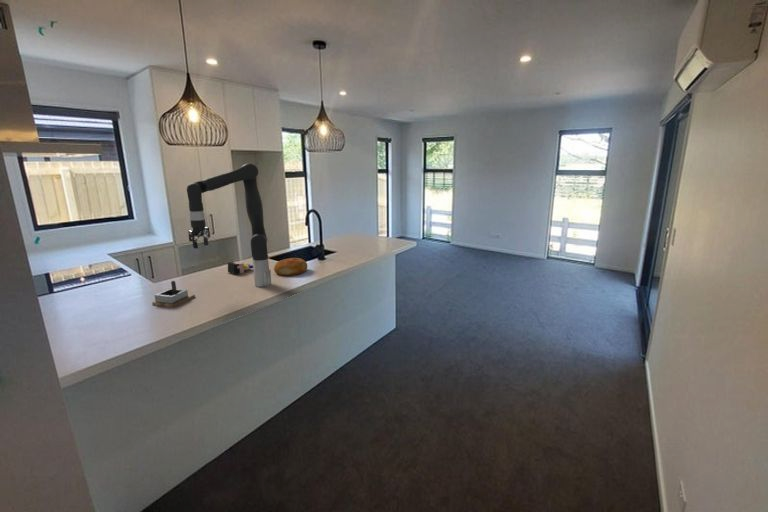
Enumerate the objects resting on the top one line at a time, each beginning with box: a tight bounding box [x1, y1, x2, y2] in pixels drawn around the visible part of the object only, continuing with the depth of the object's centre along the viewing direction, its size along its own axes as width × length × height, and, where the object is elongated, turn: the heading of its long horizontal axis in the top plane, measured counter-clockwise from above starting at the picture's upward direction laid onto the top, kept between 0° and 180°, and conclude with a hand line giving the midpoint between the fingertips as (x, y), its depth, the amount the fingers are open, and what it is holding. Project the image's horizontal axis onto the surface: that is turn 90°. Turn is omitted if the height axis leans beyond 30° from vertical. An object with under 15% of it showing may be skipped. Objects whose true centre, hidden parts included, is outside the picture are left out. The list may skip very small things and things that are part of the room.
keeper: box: [151, 280, 196, 308], centre depth 190 cm, size 14×15×12 cm
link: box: [154, 287, 189, 304], centre depth 189 cm, size 11×11×4 cm
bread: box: [273, 257, 309, 276], centre depth 246 cm, size 23×23×10 cm
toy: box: [227, 261, 253, 275], centre depth 245 cm, size 12×7×15 cm
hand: (201, 246), depth 198 cm, fingers open, 8 cm apart
